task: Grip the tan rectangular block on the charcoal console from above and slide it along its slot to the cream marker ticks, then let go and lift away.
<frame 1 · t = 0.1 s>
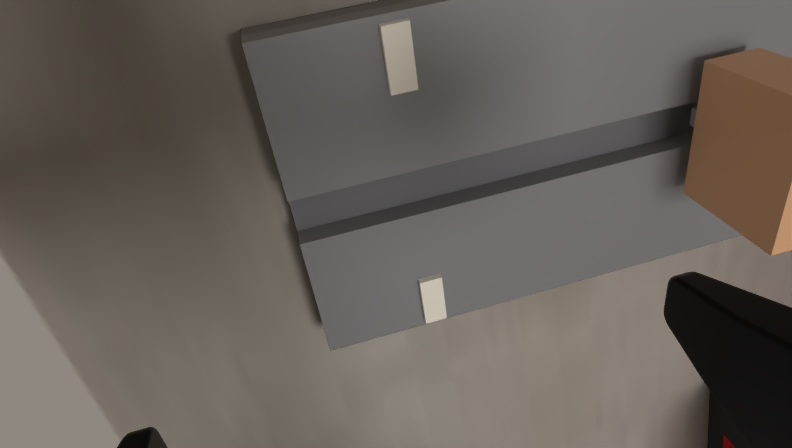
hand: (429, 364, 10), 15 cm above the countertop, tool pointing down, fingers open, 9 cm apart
cleaning product box: (759, 420, 43), on the countertop
console: (535, 138, 25), on the countertop
tan rectangular block: (752, 142, 22), point 4 cm above the countertop, slide at -7.0 cm
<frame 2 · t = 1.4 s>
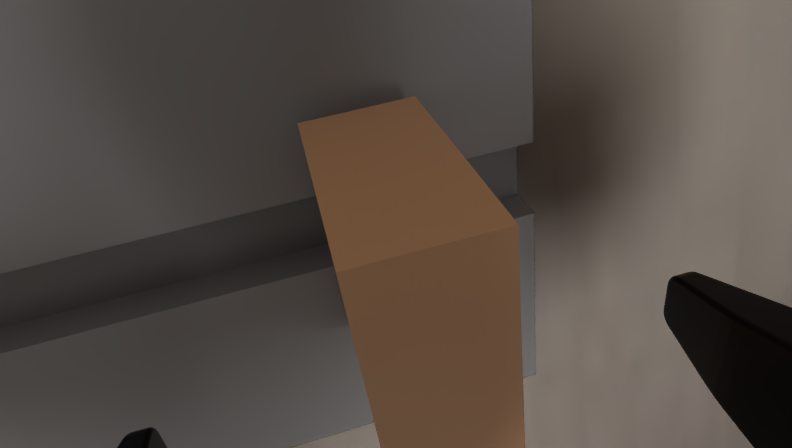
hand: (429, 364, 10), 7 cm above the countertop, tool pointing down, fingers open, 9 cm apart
console: (87, 248, 14), on the countertop
tan rectangular block: (400, 282, 11), point 4 cm above the countertop, slide at -7.0 cm
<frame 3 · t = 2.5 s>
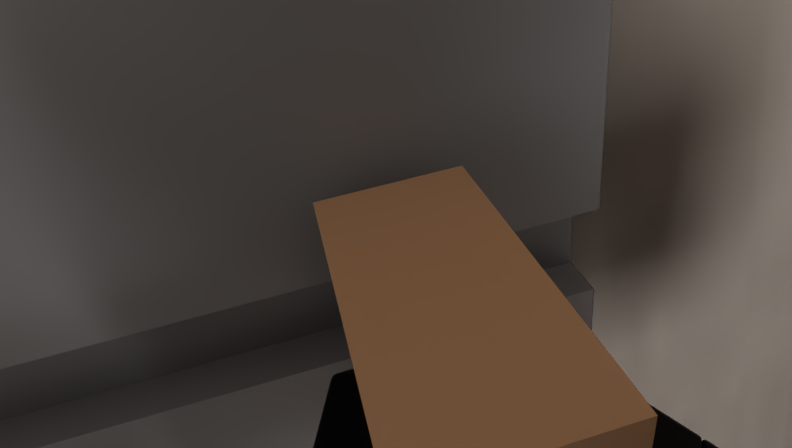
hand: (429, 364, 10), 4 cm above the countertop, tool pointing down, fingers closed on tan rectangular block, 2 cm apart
console: (54, 333, 12), on the countertop
tan rectangular block: (444, 403, 9), point 4 cm above the countertop, slide at -7.0 cm, touching gripper
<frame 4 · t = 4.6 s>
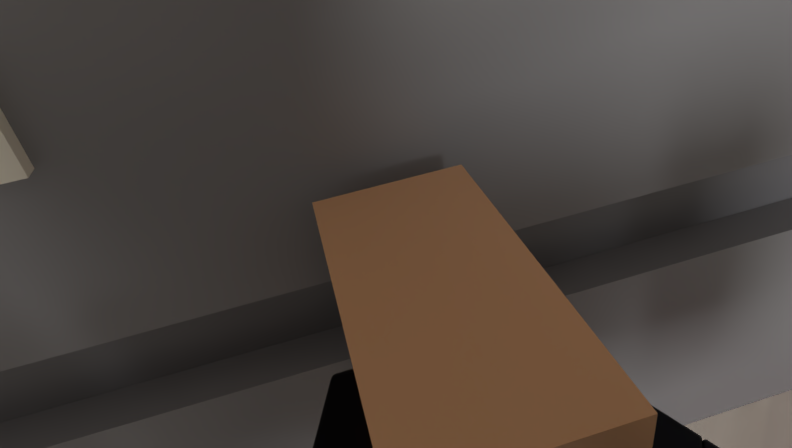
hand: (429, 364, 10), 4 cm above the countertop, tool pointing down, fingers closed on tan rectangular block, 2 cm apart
console: (412, 239, 13), on the countertop
tan rectangular block: (445, 402, 9), point 4 cm above the countertop, slide at 0.7 cm, touching gripper
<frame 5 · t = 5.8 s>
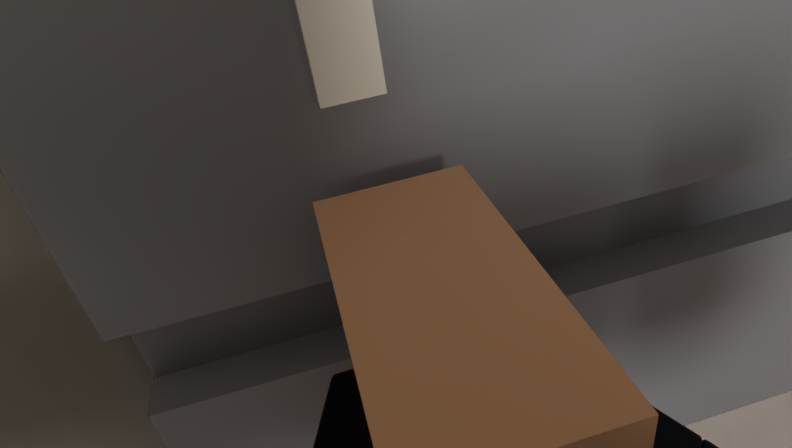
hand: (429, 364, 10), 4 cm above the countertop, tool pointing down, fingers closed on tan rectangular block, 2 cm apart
console: (619, 184, 13), on the countertop
tan rectangular block: (444, 402, 9), point 4 cm above the countertop, slide at 5.8 cm, touching gripper
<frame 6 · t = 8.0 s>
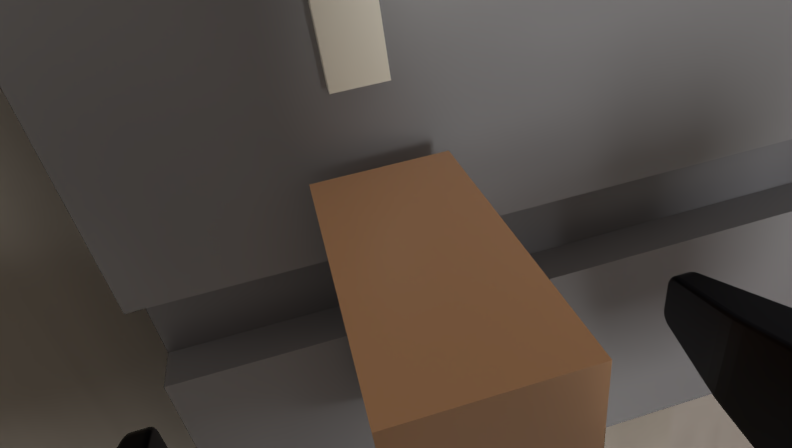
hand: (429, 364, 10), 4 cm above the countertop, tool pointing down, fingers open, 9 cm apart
console: (610, 172, 14), on the countertop
tan rectangular block: (432, 372, 10), point 4 cm above the countertop, slide at 6.0 cm
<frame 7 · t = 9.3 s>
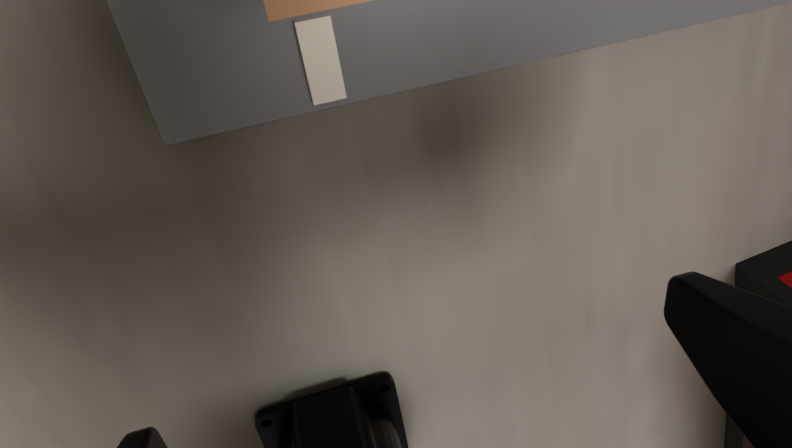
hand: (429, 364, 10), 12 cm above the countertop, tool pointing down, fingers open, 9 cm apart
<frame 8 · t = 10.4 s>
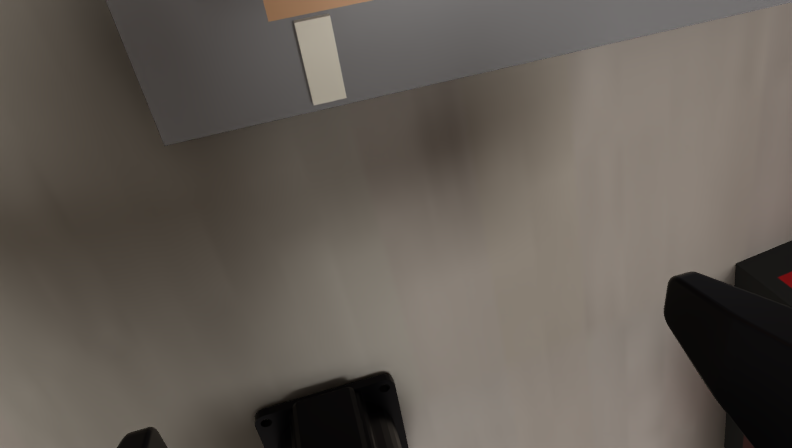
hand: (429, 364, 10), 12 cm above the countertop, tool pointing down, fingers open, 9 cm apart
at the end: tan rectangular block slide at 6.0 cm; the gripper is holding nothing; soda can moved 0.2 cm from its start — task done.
